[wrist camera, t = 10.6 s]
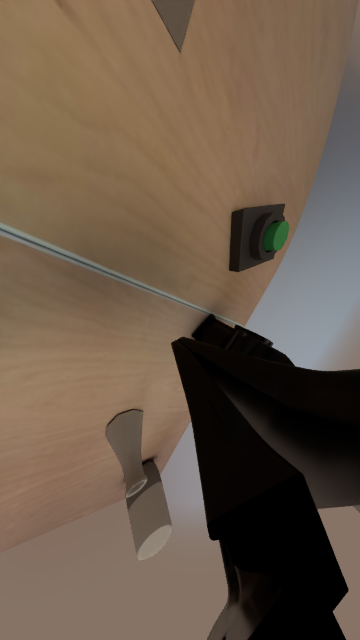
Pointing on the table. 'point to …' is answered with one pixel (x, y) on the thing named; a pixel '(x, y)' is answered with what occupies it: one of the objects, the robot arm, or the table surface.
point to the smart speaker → (149, 515)
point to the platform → (175, 17)
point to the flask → (128, 448)
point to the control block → (252, 235)
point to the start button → (276, 236)
